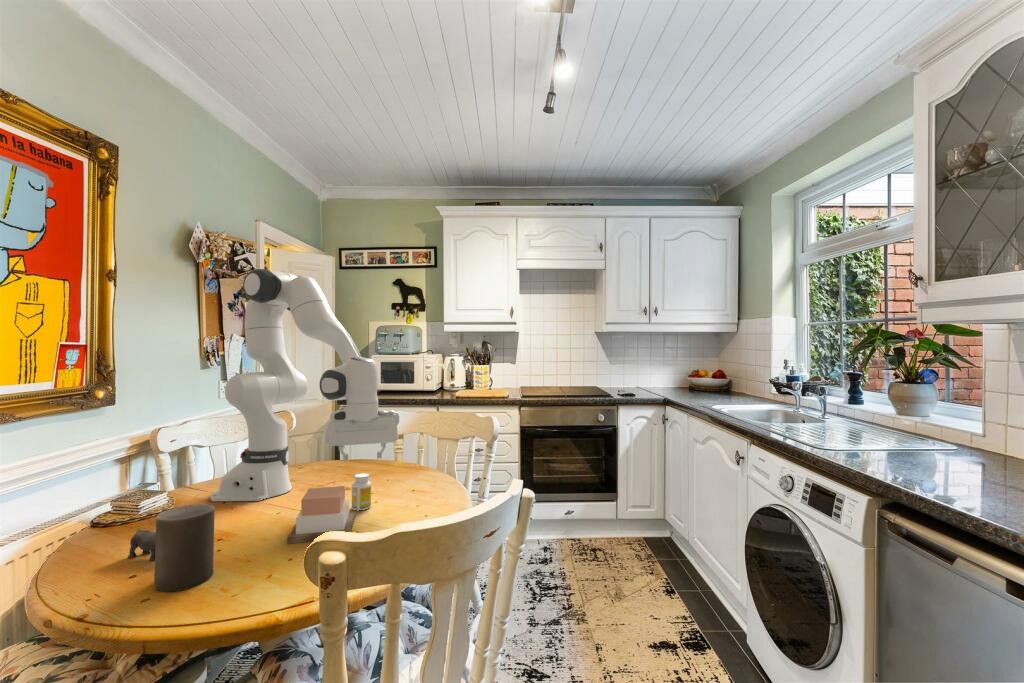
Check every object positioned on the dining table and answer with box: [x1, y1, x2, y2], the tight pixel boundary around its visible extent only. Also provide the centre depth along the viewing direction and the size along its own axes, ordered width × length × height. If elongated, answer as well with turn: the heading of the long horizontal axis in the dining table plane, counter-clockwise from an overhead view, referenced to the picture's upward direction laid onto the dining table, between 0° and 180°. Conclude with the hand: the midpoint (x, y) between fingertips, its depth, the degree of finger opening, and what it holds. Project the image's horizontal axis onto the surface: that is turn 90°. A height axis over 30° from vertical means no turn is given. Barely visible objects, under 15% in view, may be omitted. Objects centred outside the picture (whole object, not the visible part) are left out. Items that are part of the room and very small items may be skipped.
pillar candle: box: [153, 503, 215, 593], centre depth 90 cm, size 10×10×15 cm
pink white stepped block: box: [295, 485, 350, 534], centre depth 115 cm, size 11×11×8 cm
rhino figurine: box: [127, 529, 156, 562], centre depth 99 cm, size 4×14×6 cm, turn 80°
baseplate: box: [286, 511, 356, 545], centre depth 115 cm, size 14×14×2 cm
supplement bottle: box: [351, 472, 372, 512], centre depth 131 cm, size 5×5×10 cm
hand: (363, 459), depth 130 cm, fingers open, 8 cm apart
